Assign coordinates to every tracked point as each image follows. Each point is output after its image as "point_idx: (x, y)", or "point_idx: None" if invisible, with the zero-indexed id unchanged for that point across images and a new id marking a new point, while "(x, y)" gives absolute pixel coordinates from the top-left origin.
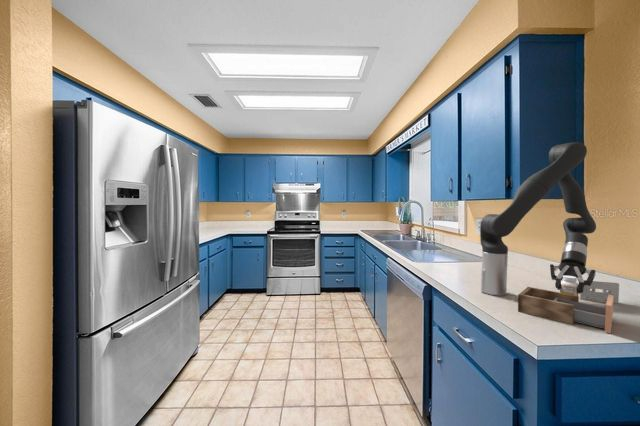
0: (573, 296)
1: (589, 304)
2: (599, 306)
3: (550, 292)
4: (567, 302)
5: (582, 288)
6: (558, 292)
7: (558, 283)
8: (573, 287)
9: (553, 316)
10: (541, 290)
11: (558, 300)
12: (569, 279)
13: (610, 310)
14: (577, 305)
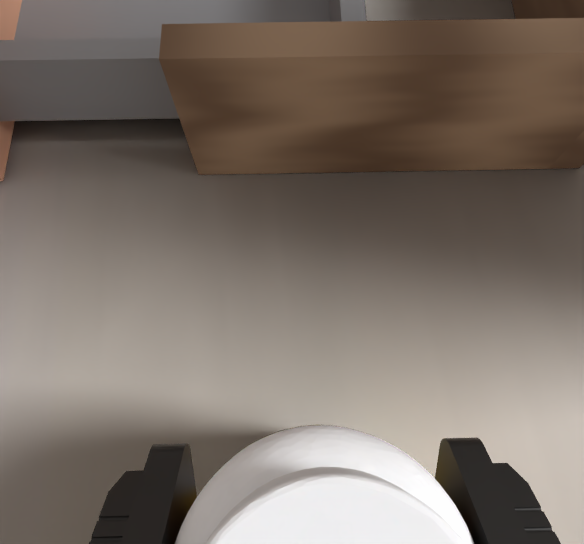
0: (209, 28)
1: (83, 54)
2: (5, 54)
3: (434, 27)
4: None
5: (111, 509)
6: (363, 52)
7: (493, 497)
8: (243, 449)
9: None
10: (529, 21)
11: None
12: (317, 471)
13: None
14: None
